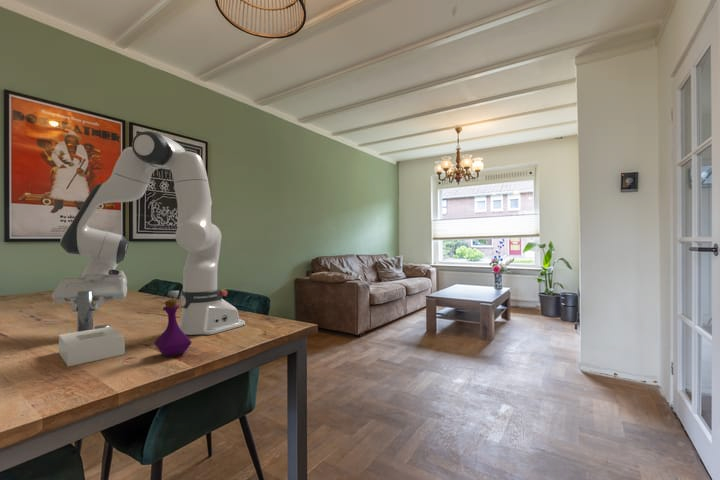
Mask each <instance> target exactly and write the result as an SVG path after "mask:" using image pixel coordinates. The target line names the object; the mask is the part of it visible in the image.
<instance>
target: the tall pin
mask: <svg viewBox="0 0 720 480" xmlns="http://www.w3.org/2000/svg"><path fill="white" fill-rule="evenodd" d="M92 304H94V301H93V291H80V292H77V304H76V305H77V315H76V317H77V318H76V319H77V320H76V326H77V328H76V329H77V331H76V332H80V331H86V330H92V329H94V311H92V310H91V307H92Z"/></svg>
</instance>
